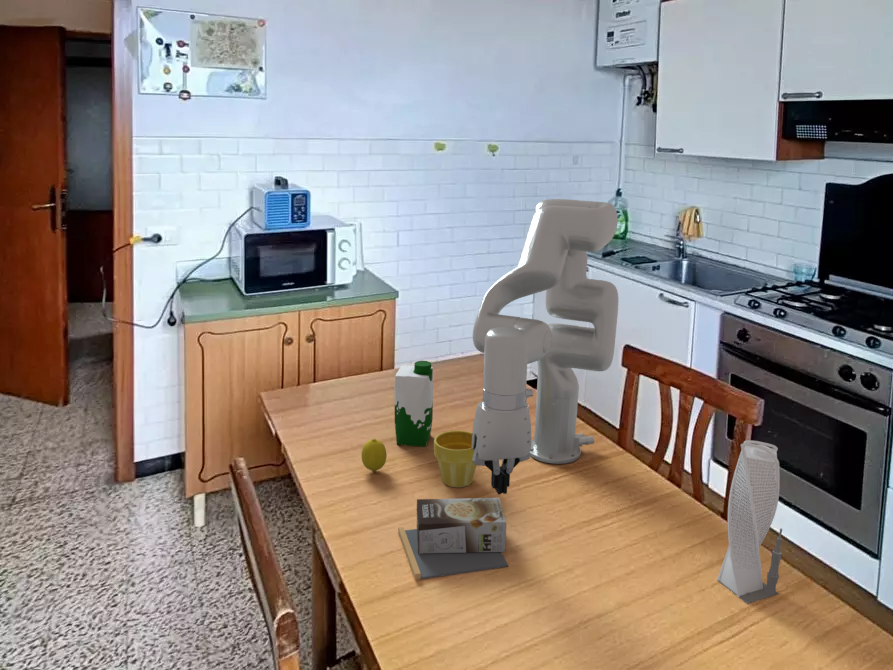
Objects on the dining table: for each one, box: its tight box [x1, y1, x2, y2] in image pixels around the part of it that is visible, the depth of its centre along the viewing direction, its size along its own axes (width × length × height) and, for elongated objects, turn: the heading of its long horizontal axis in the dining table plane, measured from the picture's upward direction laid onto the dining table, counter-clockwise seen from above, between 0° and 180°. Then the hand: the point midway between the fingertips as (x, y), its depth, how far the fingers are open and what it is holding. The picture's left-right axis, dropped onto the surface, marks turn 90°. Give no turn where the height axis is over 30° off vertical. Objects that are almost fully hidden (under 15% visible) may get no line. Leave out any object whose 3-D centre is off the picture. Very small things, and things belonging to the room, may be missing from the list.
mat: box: [397, 526, 509, 581], centre depth 135 cm, size 17×15×1 cm
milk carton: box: [394, 360, 434, 448], centre depth 177 cm, size 9×9×20 cm
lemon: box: [361, 438, 388, 473], centre depth 162 cm, size 6×6×8 cm
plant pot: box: [433, 430, 477, 488], centre depth 159 cm, size 10×10×10 cm
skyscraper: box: [716, 439, 783, 605], centre depth 122 cm, size 8×8×28 cm
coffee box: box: [416, 497, 507, 554], centre depth 137 cm, size 9×6×16 cm
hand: (499, 490), depth 134 cm, fingers closed
